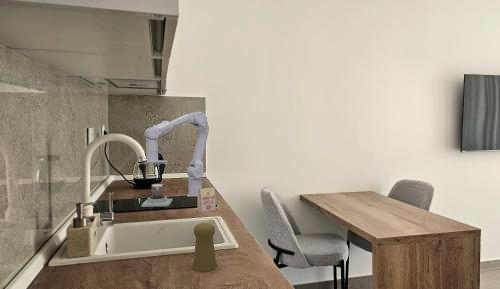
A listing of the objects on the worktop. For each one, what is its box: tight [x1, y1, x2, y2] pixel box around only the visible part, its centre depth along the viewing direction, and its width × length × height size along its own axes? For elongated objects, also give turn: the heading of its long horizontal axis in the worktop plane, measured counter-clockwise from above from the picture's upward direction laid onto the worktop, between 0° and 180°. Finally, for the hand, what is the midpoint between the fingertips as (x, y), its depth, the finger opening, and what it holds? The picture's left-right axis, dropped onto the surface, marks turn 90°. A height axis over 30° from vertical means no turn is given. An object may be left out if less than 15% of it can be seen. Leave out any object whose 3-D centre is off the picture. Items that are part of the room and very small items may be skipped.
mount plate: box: [141, 198, 174, 208], centre depth 162 cm, size 12×12×1 cm
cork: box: [192, 222, 218, 273], centre depth 86 cm, size 6×6×11 cm
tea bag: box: [196, 187, 217, 214], centre depth 146 cm, size 4×7×10 cm, turn 119°
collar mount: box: [147, 195, 168, 204], centre depth 162 cm, size 9×9×2 cm
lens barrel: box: [151, 183, 164, 199], centre depth 162 cm, size 5×5×8 cm
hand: (152, 179), depth 170 cm, fingers open, 7 cm apart
